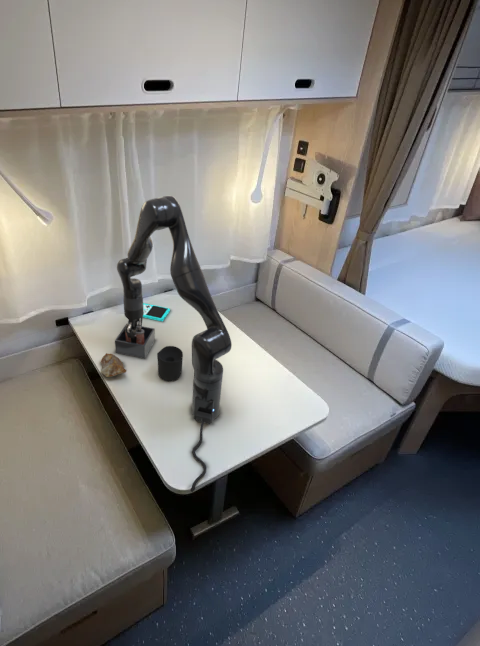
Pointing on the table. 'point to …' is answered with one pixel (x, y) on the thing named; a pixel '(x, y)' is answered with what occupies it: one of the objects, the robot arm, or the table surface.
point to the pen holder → (170, 363)
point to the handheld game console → (155, 312)
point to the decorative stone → (111, 365)
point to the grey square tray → (134, 348)
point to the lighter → (137, 336)
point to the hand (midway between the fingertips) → (135, 340)
